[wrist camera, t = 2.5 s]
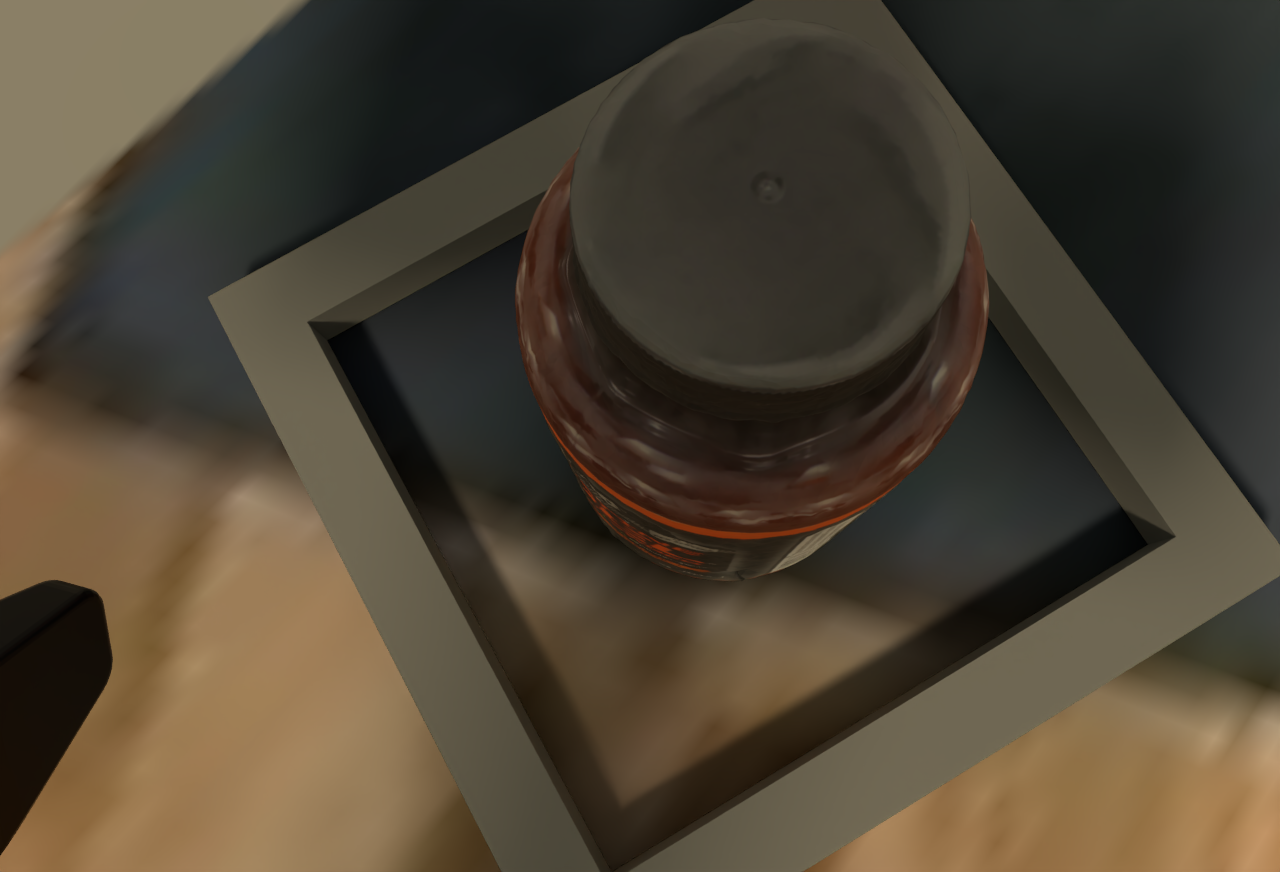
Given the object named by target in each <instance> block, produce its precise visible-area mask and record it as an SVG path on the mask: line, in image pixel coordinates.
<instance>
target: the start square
mask: <svg viewBox="0 0 1280 872" xmlns="http://www.w3.org/2000/svg"><path fill="white" fill-rule="evenodd" d="M759 18H767V19H790V20H795V21H800V22H814V23H819V24H823V25H828V26H830V27H833V28H836V29H838V30H841V31H844V32H846V33H849V34H851V35H854V36H856V37H858V38H860V39H862V40H864V41H866V42H867V43H868V44H870V45H871V46H873V47H875V48H878V49H880V50H882V51H885V52H887V53H889V54H890V55H892V56H893V57H894V58H896V59H897V60H898V61H899V62H901V63H902V64H903V65H904V66H905V67H906V68H907V69H908V70H909V72H910V73H911V74H913V75H914V76H915V77H916V78H917V79H919V80H920V81H921V82H922V83H923V84H924V85H925V87H926V88H927V89H928V91H929V92H930V93H931V95H932V96H933V97H934V98H935V99H936V100H937V101H938V102H939V104H940V106H941V108H942V109H943V111H944V113H945V115H946V116H947V118H948V121H949V123H950V125H951V126H952V128H953V129H954V131H955V133H956V136H957V139H958V143H959V146H960V149H961V152H962V156H963V159H964V162H965V165H966V168H967V171H968V174H969V183H970V206H971V218H972V220H973V222H974V224H975V226H976V230H977V233H978V235H979V237H980V242H981V245H982V248H983V254H984V263H985V267H986V271H987V281H988V290H989V313H988V317H989V319H990V320H991V321H992V323H993V324H994V326H995V327H996V329H997V330H998V331H999V333H1000V334H1001V336H1002V337H1003V338H1004V340H1005V341H1006V343H1007V344H1008V346H1009V347H1010V348H1011V350H1012V351H1013V353H1014V354H1015V356H1016V357H1017V358H1018V360H1019V361H1020V363H1021V364H1022V366H1023V367H1024V368H1025V370H1026V371H1027V373H1028V374H1029V376H1030V377H1031V378H1032V380H1033V381H1034V383H1035V384H1036V386H1037V387H1038V388H1039V390H1040V391H1041V393H1042V394H1043V396H1044V397H1045V398H1046V400H1047V401H1048V403H1049V404H1050V406H1051V407H1052V408H1053V410H1054V411H1055V413H1056V414H1057V416H1058V417H1059V418H1060V420H1061V421H1062V423H1063V424H1064V425H1065V427H1066V428H1067V430H1068V431H1069V433H1070V434H1071V435H1072V437H1073V438H1074V440H1075V441H1076V443H1077V444H1078V445H1079V447H1080V448H1081V450H1082V451H1083V453H1084V454H1085V455H1086V457H1087V458H1088V460H1089V461H1090V463H1091V464H1092V465H1093V467H1094V468H1095V470H1096V471H1097V473H1098V474H1099V475H1100V477H1101V478H1102V480H1103V481H1104V483H1105V484H1106V485H1107V487H1108V488H1109V490H1110V491H1111V493H1112V494H1113V495H1114V497H1115V498H1116V500H1117V501H1118V503H1119V504H1120V505H1121V507H1122V508H1123V510H1124V511H1125V512H1126V514H1127V515H1128V517H1129V518H1130V520H1131V521H1132V522H1133V524H1134V525H1135V527H1136V528H1137V530H1138V531H1139V532H1140V534H1141V535H1142V537H1143V538H1144V540H1145V541H1146V542H1147V544H1148V545H1147V546H1145V547H1143V548H1142V549H1140V550H1138V551H1137V552H1135V553H1134V554H1132V555H1130V556H1129V557H1127V558H1125V559H1124V560H1122V561H1120V562H1119V563H1117V564H1116V565H1114V566H1112V567H1111V568H1109V569H1107V570H1106V571H1104V572H1102V573H1101V574H1099V575H1098V576H1096V577H1094V578H1093V579H1091V580H1089V581H1088V582H1086V583H1084V584H1083V585H1081V586H1079V587H1078V588H1076V589H1075V590H1073V591H1071V592H1070V593H1068V594H1066V595H1065V596H1063V597H1061V598H1060V599H1058V600H1057V601H1055V602H1053V603H1052V604H1050V605H1048V606H1047V607H1045V608H1043V609H1042V610H1040V611H1039V612H1037V613H1035V614H1034V615H1032V616H1030V617H1029V618H1027V619H1025V620H1024V621H1022V622H1021V623H1019V624H1017V625H1016V626H1014V627H1012V628H1011V629H1009V630H1007V631H1006V632H1004V633H1003V634H1001V635H999V636H998V637H996V638H994V639H993V640H991V641H989V642H988V643H986V644H984V645H983V646H981V647H980V648H978V649H976V650H975V651H973V652H971V653H970V654H968V655H966V656H965V657H963V658H962V659H960V660H958V661H957V662H955V663H953V664H952V665H950V666H948V667H947V668H945V669H944V670H942V671H940V672H939V673H937V674H935V675H934V676H932V677H930V678H929V679H927V680H926V681H924V682H922V683H921V684H919V685H917V686H916V687H914V688H912V689H911V690H909V691H908V692H906V693H904V694H903V695H901V696H899V697H898V698H896V699H894V700H893V701H891V702H890V703H888V704H886V705H885V706H883V707H881V708H880V709H878V710H876V711H875V712H873V713H871V714H870V715H868V716H867V717H865V718H863V719H862V720H860V721H858V722H857V723H855V724H853V725H852V726H850V727H849V728H847V729H845V730H844V731H842V732H840V733H839V734H837V735H835V736H834V737H832V738H831V739H829V740H827V741H826V742H824V743H822V744H821V745H819V746H817V747H816V748H814V749H813V750H811V751H809V752H808V753H806V754H804V755H803V756H801V757H799V758H798V759H796V760H795V761H793V762H791V763H790V764H788V765H786V766H785V767H783V768H781V769H780V770H778V771H777V772H775V773H773V774H772V775H770V776H768V777H767V778H765V779H763V780H762V781H760V782H758V783H757V784H755V785H754V786H752V787H750V788H749V789H747V790H745V791H744V792H742V793H740V794H739V795H737V796H736V797H734V798H732V799H731V800H729V801H727V802H726V803H724V804H722V805H721V806H719V807H718V808H716V809H714V810H713V811H711V812H709V813H708V814H706V815H704V816H703V817H701V818H700V819H698V820H696V821H695V822H693V823H691V824H690V825H688V826H686V827H685V828H683V829H682V830H680V831H678V832H677V833H675V834H673V835H672V836H670V837H668V838H667V839H665V840H663V841H662V842H660V843H659V844H657V845H655V846H654V847H652V848H650V849H649V850H647V851H645V852H644V853H642V854H641V855H639V856H637V857H636V858H634V859H632V860H631V861H629V862H627V863H626V864H624V865H623V866H621V867H619V868H618V869H616V870H614V871H613V872H803V871H805V870H806V869H808V868H810V867H811V866H813V865H814V864H816V863H818V862H819V861H821V860H823V859H824V858H826V857H827V856H829V855H831V854H832V853H834V852H835V851H837V850H839V849H840V848H842V847H843V846H845V845H847V844H848V843H850V842H852V841H853V840H855V839H856V838H858V837H860V836H861V835H863V834H864V833H866V832H868V831H869V830H871V829H872V828H874V827H876V826H877V825H879V824H881V823H882V822H884V821H885V820H887V819H889V818H890V817H892V816H893V815H895V814H897V813H898V812H900V811H901V810H903V809H905V808H906V807H908V806H910V805H911V804H913V803H914V802H916V801H918V800H919V799H921V798H922V797H924V796H926V795H927V794H929V793H930V792H932V791H934V790H935V789H937V788H939V787H940V786H942V785H943V784H945V783H947V782H948V781H950V780H951V779H953V778H955V777H956V776H958V775H959V774H961V773H963V772H964V771H966V770H968V769H969V768H971V767H972V766H974V765H976V764H977V763H979V762H980V761H982V760H984V759H985V758H987V757H988V756H990V755H992V754H993V753H995V752H997V751H998V750H1000V749H1001V748H1003V747H1005V746H1006V745H1008V744H1009V743H1011V742H1013V741H1014V740H1016V739H1017V738H1019V737H1021V736H1022V735H1024V734H1026V733H1027V732H1029V731H1030V730H1032V729H1034V728H1035V727H1037V726H1038V725H1040V724H1042V723H1043V722H1045V721H1046V720H1048V719H1050V718H1051V717H1053V716H1055V715H1056V714H1058V713H1059V712H1061V711H1063V710H1064V709H1066V708H1067V707H1069V706H1071V705H1072V704H1074V703H1075V702H1077V701H1079V700H1080V699H1082V698H1084V697H1085V696H1087V695H1088V694H1090V693H1092V692H1093V691H1095V690H1096V689H1098V688H1100V687H1101V686H1103V685H1104V684H1106V683H1108V682H1109V681H1111V680H1113V679H1114V678H1116V677H1117V676H1119V675H1121V674H1122V673H1124V672H1125V671H1127V670H1129V669H1130V668H1132V667H1133V666H1135V665H1137V664H1138V663H1140V662H1142V661H1143V660H1145V659H1146V658H1148V657H1150V656H1151V655H1153V654H1154V653H1156V652H1158V651H1159V650H1161V649H1162V648H1164V647H1166V646H1167V645H1169V644H1171V643H1172V642H1174V641H1175V640H1177V639H1179V638H1180V637H1182V636H1183V635H1185V634H1187V633H1188V632H1190V631H1191V630H1193V629H1195V628H1196V627H1198V626H1200V625H1201V624H1203V623H1204V622H1206V621H1208V620H1209V619H1211V618H1212V617H1214V616H1216V615H1217V614H1219V613H1220V612H1222V611H1224V610H1225V609H1227V608H1229V607H1230V606H1232V605H1233V604H1235V603H1237V602H1238V601H1240V600H1241V599H1243V598H1245V597H1246V596H1248V595H1249V594H1251V593H1253V592H1254V591H1256V590H1258V589H1259V588H1261V587H1262V586H1264V585H1266V584H1267V583H1269V582H1270V581H1272V580H1274V579H1275V578H1277V577H1279V576H1280V545H1279V543H1278V542H1277V540H1276V539H1275V538H1274V536H1273V535H1272V534H1271V532H1270V531H1269V530H1268V528H1267V527H1266V525H1265V524H1264V523H1263V521H1262V520H1261V519H1260V517H1259V516H1258V515H1257V513H1256V512H1255V510H1254V509H1253V508H1252V506H1251V505H1250V504H1249V502H1248V501H1247V499H1246V498H1245V497H1244V495H1243V494H1242V493H1241V491H1240V490H1239V489H1238V487H1237V486H1236V484H1235V483H1234V482H1233V480H1232V479H1231V478H1230V476H1229V475H1228V474H1227V472H1226V471H1225V469H1224V468H1223V467H1222V465H1221V464H1220V463H1219V461H1218V460H1217V458H1216V457H1215V456H1214V454H1213V453H1212V452H1211V450H1210V449H1209V448H1208V446H1207V445H1206V443H1205V442H1204V441H1203V439H1202V438H1201V437H1200V435H1199V434H1198V433H1197V431H1196V430H1195V428H1194V427H1193V426H1192V424H1191V423H1190V422H1189V420H1188V419H1187V418H1186V416H1185V415H1184V413H1183V412H1182V411H1181V409H1180V408H1179V407H1178V405H1177V404H1176V402H1175V401H1174V400H1173V398H1172V397H1171V396H1170V394H1169V393H1168V392H1167V390H1166V389H1165V387H1164V386H1163V385H1162V383H1161V382H1160V381H1159V379H1158V378H1157V377H1156V375H1155V374H1154V372H1153V371H1152V370H1151V368H1150V367H1149V366H1148V364H1147V363H1146V361H1145V360H1144V359H1143V357H1142V356H1141V355H1140V353H1139V352H1138V351H1137V349H1136V348H1135V346H1134V345H1133V344H1132V342H1131V341H1130V340H1129V338H1128V337H1127V336H1126V334H1125V333H1124V331H1123V330H1122V329H1121V327H1120V326H1119V325H1118V323H1117V322H1116V320H1115V319H1114V318H1113V316H1112V315H1111V314H1110V312H1109V311H1108V310H1107V308H1106V307H1105V305H1104V304H1103V303H1102V301H1101V300H1100V299H1099V297H1098V296H1097V295H1096V293H1095V292H1094V290H1093V289H1092V288H1091V286H1090V285H1089V284H1088V282H1087V281H1086V280H1085V278H1084V277H1083V275H1082V274H1081V273H1080V271H1079V270H1078V269H1077V267H1076V266H1075V264H1074V263H1073V262H1072V260H1071V259H1070V258H1069V256H1068V255H1067V254H1066V252H1065V251H1064V249H1063V248H1062V247H1061V245H1060V244H1059V243H1058V241H1057V240H1056V239H1055V237H1054V236H1053V234H1052V233H1051V232H1050V230H1049V229H1048V228H1047V226H1046V225H1045V223H1044V222H1043V221H1042V219H1041V218H1040V217H1039V215H1038V214H1037V213H1036V211H1035V210H1034V208H1033V207H1032V206H1031V204H1030V203H1029V202H1028V200H1027V199H1026V198H1025V196H1024V195H1023V193H1022V192H1021V191H1020V189H1019V188H1018V187H1017V185H1016V184H1015V182H1014V181H1013V180H1012V178H1011V177H1010V176H1009V174H1008V173H1007V172H1006V170H1005V169H1004V167H1003V166H1002V165H1001V163H1000V162H999V161H998V159H997V158H996V157H995V155H994V154H993V152H992V151H991V150H990V148H989V147H988V146H987V144H986V143H985V142H984V140H983V139H982V137H981V136H980V135H979V133H978V132H977V131H976V129H975V128H974V126H973V125H972V124H971V122H970V121H969V120H968V118H967V117H966V116H965V114H964V113H963V111H962V110H961V109H960V107H959V106H958V105H957V103H956V102H955V101H954V99H953V98H952V96H951V95H950V94H949V92H948V91H947V90H946V88H945V87H944V85H943V84H942V83H941V81H940V80H939V79H938V77H937V76H936V75H935V73H934V72H933V70H932V69H931V68H930V66H929V65H928V64H927V62H926V61H925V60H924V58H923V57H922V55H921V54H920V53H919V51H918V50H917V49H916V47H915V46H914V44H913V43H912V42H911V40H910V39H909V38H908V36H907V35H906V34H905V32H904V31H903V29H902V28H901V27H900V25H899V24H898V23H897V21H896V20H895V19H894V17H893V16H892V14H891V13H890V12H889V10H888V9H887V8H886V6H885V5H884V4H883V2H882V1H881V0H754V1H752V2H750V3H748V4H746V5H745V6H743V7H741V8H739V9H737V10H735V11H734V12H732V13H730V14H728V15H726V16H724V17H723V18H721V19H719V20H717V21H715V22H713V23H711V24H710V25H708V26H706V27H704V28H702V29H705V28H709V27H713V26H716V25H719V24H724V23H729V22H738V21H741V20H748V19H759ZM700 30H701V29H700ZM638 64H639V63H638ZM638 64H636V65H634V66H632V67H630V68H629V69H627V70H625V71H623V72H621V73H619V74H618V75H616V76H614V77H612V78H610V79H608V80H607V81H605V82H603V83H601V84H599V85H597V86H595V87H594V88H592V89H590V90H588V91H586V92H584V93H583V94H581V95H579V96H577V97H575V98H573V99H572V100H570V101H568V102H566V103H564V104H562V105H560V106H559V107H557V108H555V109H553V110H551V111H549V112H548V113H546V114H544V115H542V116H540V117H538V118H537V119H535V120H533V121H531V122H529V123H527V124H525V125H524V126H522V127H520V128H518V129H516V130H514V131H513V132H511V133H509V134H507V135H505V136H503V137H502V138H500V139H498V140H496V141H494V142H492V143H491V144H489V145H487V146H485V147H483V148H481V149H479V150H478V151H476V152H474V153H472V154H470V155H468V156H467V157H465V158H463V159H461V160H459V161H457V162H456V163H454V164H452V165H450V166H448V167H446V168H444V169H443V170H441V171H439V172H437V173H435V174H433V175H432V176H430V177H428V178H426V179H424V180H422V181H421V182H419V183H417V184H415V185H413V186H411V187H410V188H408V189H406V190H404V191H402V192H400V193H398V194H397V195H395V196H393V197H391V198H389V199H387V200H386V201H384V202H382V203H380V204H378V205H376V206H375V207H373V208H371V209H369V210H367V211H365V212H363V213H362V214H360V215H358V216H356V217H354V218H352V219H351V220H349V221H347V222H345V223H343V224H341V225H340V226H338V227H336V228H334V229H332V230H330V231H328V232H327V233H325V234H323V235H321V236H319V237H317V238H316V239H314V240H312V241H310V242H308V243H306V244H305V245H303V246H301V247H299V248H297V249H295V250H294V251H292V252H290V253H288V254H286V255H284V256H282V257H281V258H279V259H277V260H275V261H273V262H271V263H270V264H268V265H266V266H264V267H262V268H260V269H259V270H257V271H255V272H253V273H251V274H249V275H247V276H246V277H244V278H242V279H240V280H238V281H236V282H235V283H233V284H231V285H229V286H227V287H225V288H224V289H222V290H220V291H218V292H216V293H214V294H212V295H211V296H209V297H208V298H209V300H210V302H211V304H212V306H213V308H214V310H215V312H216V314H217V316H218V318H219V320H220V322H221V324H222V326H223V328H224V330H225V332H226V334H227V336H228V338H229V339H230V341H231V343H232V345H233V347H234V349H235V351H236V353H237V355H238V357H239V359H240V361H241V363H242V365H243V367H244V369H245V371H246V373H247V375H248V377H249V379H250V381H251V383H252V384H253V386H254V388H255V390H256V392H257V394H258V396H259V398H260V400H261V402H262V404H263V406H264V408H265V410H266V412H267V414H268V416H269V418H270V420H271V422H272V424H273V426H274V428H275V430H276V431H277V433H278V435H279V437H280V439H281V441H282V443H283V445H284V447H285V449H286V451H287V453H288V455H289V457H290V459H291V461H292V463H293V465H294V467H295V469H296V471H297V473H298V475H299V476H300V478H301V480H302V482H303V484H304V486H305V488H306V490H307V492H308V494H309V496H310V498H311V500H312V502H313V504H314V506H315V508H316V510H317V512H318V514H319V516H320V518H321V520H322V521H323V523H324V525H325V527H326V529H327V531H328V533H329V535H330V537H331V539H332V541H333V543H334V545H335V547H336V549H337V551H338V553H339V555H340V557H341V559H342V561H343V563H344V565H345V567H346V568H347V570H348V572H349V574H350V576H351V578H352V580H353V582H354V584H355V586H356V588H357V590H358V592H359V594H360V596H361V598H362V600H363V602H364V604H365V606H366V608H367V610H368V612H369V613H370V615H371V617H372V619H373V621H374V623H375V625H376V627H377V629H378V631H379V633H380V635H381V637H382V639H383V641H384V643H385V645H386V647H387V649H388V651H389V653H390V655H391V657H392V658H393V660H394V662H395V664H396V666H397V668H398V670H399V672H400V674H401V676H402V678H403V680H404V682H405V684H406V686H407V688H408V690H409V692H410V694H411V696H412V698H413V700H414V702H415V703H416V705H417V707H418V709H419V711H420V713H421V715H422V717H423V719H424V721H425V723H426V725H427V727H428V729H429V731H430V733H431V735H432V737H433V739H434V741H435V743H436V745H437V747H438V749H439V750H440V752H441V754H442V756H443V758H444V760H445V762H446V764H447V766H448V768H449V770H450V772H451V774H452V776H453V778H454V780H455V782H456V784H457V786H458V788H459V790H460V792H461V794H462V795H463V797H464V799H465V801H466V803H467V805H468V807H469V809H470V811H471V813H472V815H473V817H474V819H475V821H476V823H477V825H478V827H479V829H480V831H481V833H482V835H483V837H484V839H485V840H486V842H487V844H488V846H489V848H490V850H491V852H492V854H493V856H494V858H495V860H496V862H497V864H498V866H499V868H500V870H501V872H611V870H610V869H609V867H608V865H607V863H606V861H605V859H604V857H603V855H602V854H601V852H600V850H599V848H598V846H597V844H596V842H595V840H594V839H593V837H592V835H591V833H590V831H589V829H588V827H587V826H586V824H585V822H584V820H583V818H582V816H581V814H580V812H579V811H578V809H577V807H576V805H575V803H574V801H573V799H572V797H571V796H570V794H569V792H568V790H567V788H566V786H565V784H564V782H563V781H562V779H561V777H560V775H559V773H558V771H557V769H556V768H555V766H554V764H553V762H552V760H551V758H550V756H549V754H548V753H547V751H546V749H545V747H544V745H543V743H542V741H541V739H540V738H539V736H538V734H537V732H536V730H535V728H534V726H533V725H532V723H531V721H530V719H529V717H528V715H527V713H526V711H525V710H524V708H523V706H522V704H521V702H520V700H519V698H518V696H517V695H516V693H515V691H514V689H513V687H512V685H511V683H510V682H509V680H508V678H507V676H506V674H505V672H504V670H503V668H502V667H501V665H500V663H499V661H498V659H497V657H496V655H495V653H494V652H493V650H492V648H491V646H490V644H489V642H488V640H487V639H486V637H485V635H484V633H483V631H482V629H481V627H480V625H479V624H478V622H477V620H476V618H475V616H474V614H473V612H472V610H471V609H470V607H469V605H468V603H467V601H466V599H465V597H464V596H463V594H462V592H461V590H460V588H459V586H458V584H457V582H456V581H455V579H454V577H453V575H452V573H451V571H450V569H449V567H448V566H447V564H446V562H445V560H444V558H443V556H442V554H441V553H440V551H439V549H438V547H437V545H436V543H435V541H434V539H433V538H432V536H431V534H430V532H429V530H428V528H427V526H426V524H425V523H424V521H423V519H422V517H421V515H420V513H419V511H418V509H417V508H416V506H415V504H414V502H413V500H412V498H411V496H410V495H409V493H408V491H407V489H406V487H405V485H404V483H403V481H402V480H401V478H400V476H399V474H398V472H397V470H396V468H395V466H394V465H393V463H392V461H391V459H390V457H389V455H388V453H387V452H386V450H385V448H384V446H383V444H382V442H381V440H380V438H379V437H378V435H377V433H376V431H375V429H374V427H373V425H372V423H371V422H370V420H369V418H368V416H367V414H366V412H365V410H364V409H363V407H362V405H361V403H360V401H359V399H358V397H357V395H356V394H355V392H354V390H353V388H352V386H351V384H350V382H349V380H348V379H347V377H346V375H345V373H344V371H343V369H342V367H341V366H340V364H339V362H338V360H337V358H336V356H335V354H334V352H333V351H332V349H331V347H330V345H329V343H328V341H327V340H329V339H331V338H332V337H334V336H336V335H338V334H340V333H341V332H343V331H345V330H347V329H349V328H350V327H352V326H354V325H356V324H358V323H360V322H361V321H363V320H365V319H367V318H369V317H370V316H372V315H374V314H376V313H378V312H379V311H381V310H383V309H385V308H387V307H389V306H390V305H392V304H394V303H396V302H398V301H399V300H401V299H403V298H405V297H407V296H408V295H410V294H412V293H414V292H416V291H417V290H419V289H421V288H423V287H425V286H427V285H428V284H430V283H432V282H434V281H436V280H437V279H439V278H441V277H443V276H445V275H446V274H448V273H450V272H452V271H454V270H456V269H457V268H459V267H461V266H463V265H465V264H466V263H468V262H470V261H472V260H474V259H475V258H477V257H479V256H481V255H483V254H485V253H486V252H488V251H490V250H492V249H494V248H495V247H497V246H499V245H501V244H503V243H504V242H506V241H508V240H510V239H512V238H513V237H515V236H517V235H519V234H521V233H523V232H524V231H526V230H528V229H529V227H530V224H531V222H532V219H533V216H534V214H535V211H536V209H537V207H538V205H539V204H540V202H541V200H542V199H543V197H544V195H545V193H546V192H547V190H548V188H549V186H550V184H551V182H552V180H553V179H554V178H555V177H556V175H557V174H558V173H559V172H560V170H561V169H562V167H563V166H564V164H565V163H566V161H567V160H568V159H569V158H570V157H571V156H572V155H573V154H574V153H575V151H576V150H577V148H578V147H580V144H581V141H582V139H583V137H584V135H585V132H586V129H587V127H588V125H589V123H590V121H591V119H592V118H593V117H594V115H595V114H596V112H597V110H598V108H599V106H600V104H601V103H602V102H603V101H604V100H605V99H606V98H607V96H608V95H609V93H610V92H611V90H612V89H613V88H614V86H616V85H617V84H618V83H619V82H620V81H621V79H622V78H623V77H624V76H625V75H627V74H628V73H629V72H630V71H631V70H632V69H634V68H635V67H636V66H637V65H638Z"/></svg>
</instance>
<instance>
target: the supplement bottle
mask: <svg viewBox="0 0 1280 872" xmlns="http://www.w3.org/2000/svg"><path fill="white" fill-rule="evenodd" d="M515 307H516V322H517V327H518V336H519V342H520V348H521V353H522V358H523V363H524V367H525V371H526V374H527V377H528V380H529V383H530V386H531V388H532V391H533V393H534V395H535V398H536V400H537V402H538V404H539V406H540V408H541V410H542V412H543V415H544V417H545V419H546V422H547V424H548V427H549V429H550V431H551V433H552V435H553V436H554V438H555V440H556V442H557V443H558V444H559V447H560V450H561V451H562V453H563V454H564V456H565V457H566V459H567V461H568V463H569V465H570V467H571V470H572V471H573V473H574V474H575V476H576V478H577V480H578V483H579V485H580V487H581V489H582V490H583V492H584V493H585V495H586V498H587V500H588V502H589V503H590V505H591V506H592V508H593V509H594V510H595V512H596V513H597V514H598V516H599V517H600V519H601V521H602V523H603V524H604V525H605V526H607V528H608V529H609V530H610V532H611V533H612V535H613V536H614V537H616V538H617V539H618V540H620V541H621V542H622V543H623V544H625V545H626V546H627V547H628V548H630V549H632V550H633V551H634V552H635V553H637V554H638V555H639V556H641V557H643V558H645V559H647V560H649V561H651V562H652V563H654V564H657V565H659V566H661V567H663V568H665V569H668V570H671V571H674V572H676V573H680V574H683V575H687V576H690V577H694V578H700V579H707V580H721V581H737V580H741V581H743V580H745V579H751V578H756V577H759V576H762V575H766V574H770V573H774V572H778V571H780V570H782V569H784V568H786V567H788V566H791V565H793V564H795V563H797V562H799V561H800V560H802V559H804V558H806V557H808V556H809V555H811V554H812V553H814V552H816V551H817V550H819V549H820V548H821V547H823V546H824V545H825V544H826V543H828V542H829V541H830V540H831V539H833V538H834V537H835V536H836V535H837V534H838V533H840V532H841V531H842V530H843V529H845V528H846V527H847V526H848V525H849V524H851V523H852V522H853V521H854V520H856V519H857V518H858V517H859V516H860V515H861V514H863V513H864V512H865V511H866V510H868V509H869V508H870V507H871V506H873V505H874V504H875V503H876V502H878V501H879V500H880V499H881V498H882V497H884V496H885V495H886V494H887V493H889V492H890V491H891V490H892V489H893V488H895V487H896V486H897V485H898V484H899V483H900V482H901V481H902V480H903V479H904V478H905V477H906V476H907V475H908V474H909V473H910V472H912V471H913V470H914V469H915V468H916V467H917V466H919V465H920V464H921V463H922V462H923V461H924V459H925V458H926V457H927V456H928V455H929V454H930V453H931V452H932V450H933V449H934V448H935V446H936V445H937V444H938V443H939V441H940V440H941V439H942V437H943V436H944V435H945V433H946V432H947V430H948V429H949V427H950V426H951V424H952V422H953V421H954V419H955V418H956V416H957V415H958V413H959V412H960V410H961V408H962V405H963V403H964V400H965V397H966V395H967V393H968V392H969V390H970V389H971V386H972V383H973V379H974V377H975V375H976V372H977V369H978V366H979V362H980V359H981V355H982V351H983V347H984V341H985V336H986V330H987V322H988V313H989V290H988V281H987V271H986V267H985V263H984V254H983V248H982V245H981V242H980V237H979V235H978V233H977V230H976V226H975V224H974V222H973V220H972V218H971V206H970V183H969V174H968V171H967V168H966V165H965V162H964V159H963V156H962V152H961V149H960V146H959V143H958V139H957V136H956V133H955V131H954V129H953V128H952V126H951V125H950V123H949V121H948V118H947V116H946V115H945V113H944V111H943V109H942V108H941V106H940V104H939V102H938V101H937V100H936V99H935V98H934V97H933V96H932V95H931V93H930V92H929V91H928V89H927V88H926V87H925V85H924V84H923V83H922V82H921V81H920V80H919V79H917V78H916V77H915V76H914V75H913V74H911V73H910V72H909V70H908V69H907V68H906V67H905V66H904V65H903V64H902V63H901V62H899V61H898V60H897V59H896V58H894V57H893V56H892V55H890V54H889V53H887V52H885V51H882V50H880V49H878V48H875V47H873V46H871V45H870V44H868V43H867V42H866V41H864V40H862V39H860V38H858V37H856V36H854V35H851V34H849V33H846V32H844V31H841V30H838V29H836V28H833V27H830V26H828V25H823V24H819V23H814V22H800V21H795V20H790V19H767V18H759V19H748V20H741V21H738V22H729V23H724V24H719V25H716V26H713V27H709V28H705V29H701V30H699V31H696V32H693V33H691V34H688V35H685V36H682V37H680V38H678V39H677V40H675V41H673V42H671V43H669V44H667V45H665V46H664V47H662V48H661V49H659V50H658V51H656V52H655V53H654V54H652V55H650V56H648V57H646V58H645V59H643V60H642V61H641V62H640V63H639V64H638V65H637V66H636V67H635V68H634V69H632V70H631V71H630V72H629V73H628V74H627V75H625V76H624V77H623V78H622V79H621V81H620V82H619V83H618V84H617V85H616V86H614V88H613V89H612V90H611V92H610V93H609V95H608V96H607V98H606V99H605V100H604V101H603V102H602V103H601V104H600V106H599V108H598V110H597V112H596V114H595V115H594V117H593V118H592V119H591V121H590V123H589V125H588V127H587V129H586V132H585V135H584V137H583V139H582V141H581V144H580V147H578V148H577V150H576V151H575V153H574V154H573V155H572V156H571V157H570V158H569V159H568V160H567V161H566V163H565V164H564V166H563V167H562V169H561V170H560V172H559V173H558V174H557V175H556V177H555V178H554V179H553V180H552V182H551V184H550V186H549V188H548V190H547V192H546V193H545V195H544V197H543V199H542V200H541V202H540V204H539V205H538V207H537V209H536V211H535V214H534V216H533V219H532V222H531V224H530V227H529V230H528V233H527V235H526V239H525V243H524V247H523V250H522V254H521V259H520V263H519V267H518V275H517V282H516V287H515Z"/></svg>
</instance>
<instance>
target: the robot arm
mask: <svg viewBox="0 0 1280 872" xmlns="http://www.w3.org/2000/svg"><path fill="white" fill-rule="evenodd" d="M112 662H113V657H112V650H111V644H110V638H109V632H108V627H107V621H106V615H105V609H104V604H103V601H102V598H101V597H100V596H99V594H98V593H97V592H96V591H94V590H92V589H88V588H85V587H81V586H78V585H74V584H71V583H67V582H63V581H58V580H49V581H44V582H41V583H38V584H36V585H33V586H31V587H29V588H26V589H24V590H22V591H19V592H17V593H15V594H12V595H10V596H7V597H5V598H3V599H0V855H1V854H2V852H3V851H4V850H5V848H6V847H7V846H8V844H9V842H10V841H11V839H12V838H13V836H14V835H15V833H16V832H17V830H18V829H19V827H20V825H21V824H22V822H23V821H24V819H25V818H26V816H27V814H28V813H29V811H30V809H31V808H32V806H33V805H34V803H35V801H36V800H37V798H38V796H39V795H40V793H41V791H42V790H43V788H44V787H45V785H46V783H47V782H48V780H49V778H50V777H51V775H52V773H53V772H54V770H55V768H56V767H57V765H58V764H59V762H60V760H61V759H62V757H63V755H64V754H65V752H66V750H67V749H68V747H69V745H70V744H71V742H72V741H73V739H74V737H75V736H76V734H77V732H78V731H79V729H80V727H81V726H82V724H83V723H84V721H85V719H86V718H87V716H88V714H89V713H90V711H91V709H92V708H93V706H94V704H95V703H96V701H97V700H98V698H99V696H100V695H101V693H102V691H103V690H104V688H105V686H106V684H107V682H108V679H109V677H110V673H111V670H112Z"/></svg>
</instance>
